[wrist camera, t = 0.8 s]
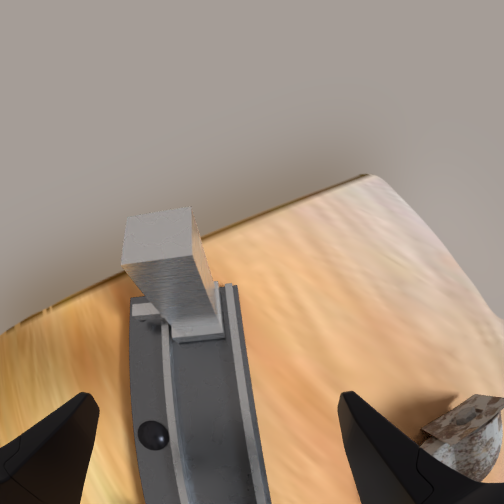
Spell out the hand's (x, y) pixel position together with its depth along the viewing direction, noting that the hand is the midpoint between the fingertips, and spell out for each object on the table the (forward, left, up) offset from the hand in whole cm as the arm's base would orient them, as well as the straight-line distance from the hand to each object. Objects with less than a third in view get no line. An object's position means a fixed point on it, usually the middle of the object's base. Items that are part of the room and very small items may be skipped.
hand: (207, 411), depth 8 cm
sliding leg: (+5, +8, -12) cm, 15 cm away
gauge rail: (-4, +2, -14) cm, 14 cm away
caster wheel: (+1, -20, -14) cm, 25 cm away
